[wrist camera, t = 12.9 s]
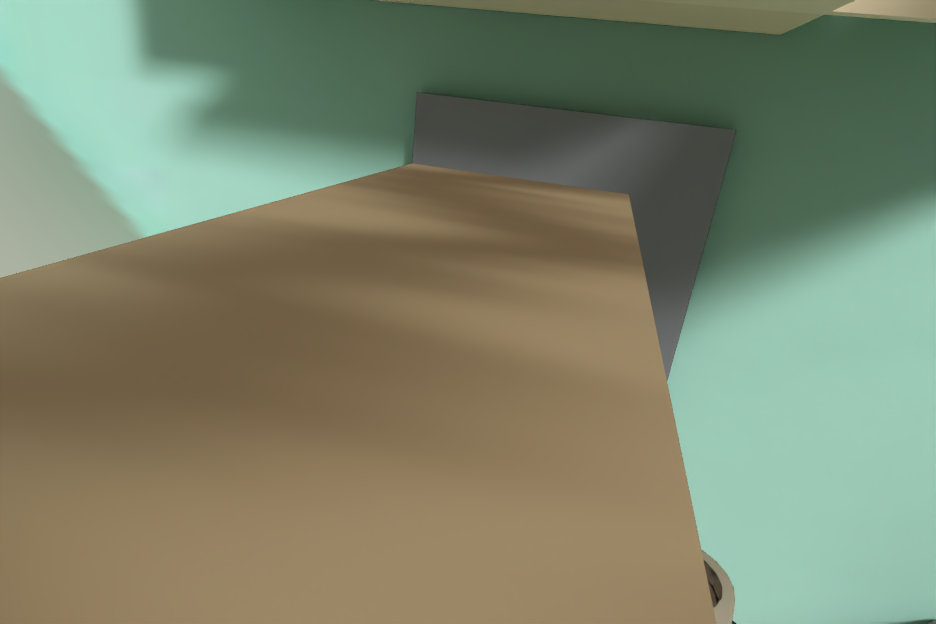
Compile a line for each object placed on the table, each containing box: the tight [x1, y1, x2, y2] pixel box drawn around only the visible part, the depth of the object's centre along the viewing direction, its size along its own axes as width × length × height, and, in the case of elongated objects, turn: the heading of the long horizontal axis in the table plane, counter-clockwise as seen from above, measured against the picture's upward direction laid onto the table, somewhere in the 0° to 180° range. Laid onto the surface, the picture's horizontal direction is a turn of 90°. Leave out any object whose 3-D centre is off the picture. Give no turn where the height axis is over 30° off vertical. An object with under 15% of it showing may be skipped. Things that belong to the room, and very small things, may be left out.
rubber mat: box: [412, 93, 736, 380], centre depth 21 cm, size 11×12×1 cm
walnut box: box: [0, 163, 716, 624], centre depth 9 cm, size 5×9×12 cm, turn 174°
